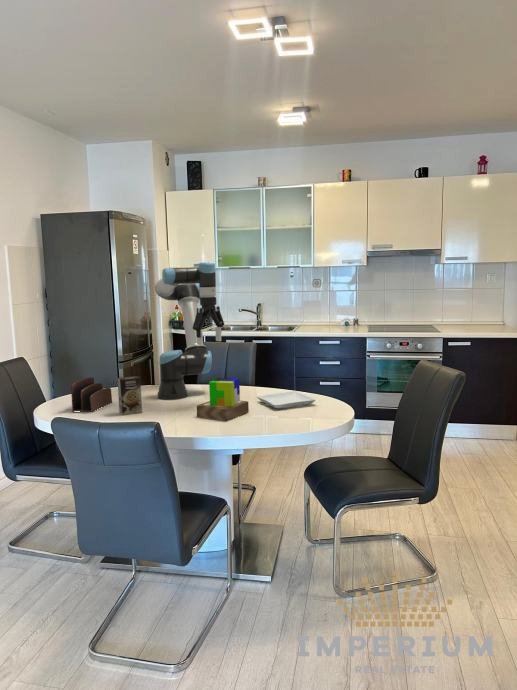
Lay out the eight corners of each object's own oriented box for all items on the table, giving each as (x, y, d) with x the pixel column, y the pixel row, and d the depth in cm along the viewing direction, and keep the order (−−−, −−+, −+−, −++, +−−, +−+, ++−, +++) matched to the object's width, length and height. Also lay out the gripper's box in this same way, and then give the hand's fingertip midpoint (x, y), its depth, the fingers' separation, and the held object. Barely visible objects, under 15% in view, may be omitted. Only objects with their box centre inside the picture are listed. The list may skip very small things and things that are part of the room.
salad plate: (275, 412, 224) (274, 404, 224) (256, 402, 244) (255, 395, 243) (317, 406, 233) (316, 399, 232) (295, 397, 252) (295, 390, 252)
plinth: (196, 416, 219) (196, 405, 218) (219, 408, 232) (219, 397, 231) (226, 421, 210) (226, 409, 209) (248, 412, 223) (248, 401, 222)
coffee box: (122, 415, 225) (120, 379, 223) (119, 412, 230) (116, 377, 228) (142, 412, 229) (140, 377, 227) (139, 409, 234) (137, 375, 233)
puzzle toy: (240, 401, 223) (239, 378, 222) (232, 406, 214) (231, 383, 212) (218, 400, 226) (217, 378, 225) (210, 405, 217) (209, 382, 215)
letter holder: (72, 412, 233) (69, 382, 232) (94, 402, 253) (92, 374, 251) (92, 413, 232) (89, 382, 230) (112, 403, 251) (110, 375, 249)
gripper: (196, 298, 220) (198, 346, 223) (230, 295, 240) (232, 340, 243) (183, 297, 224) (185, 345, 227) (218, 295, 244) (219, 339, 247)
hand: (209, 342), depth 235 cm, fingers open, 13 cm apart
